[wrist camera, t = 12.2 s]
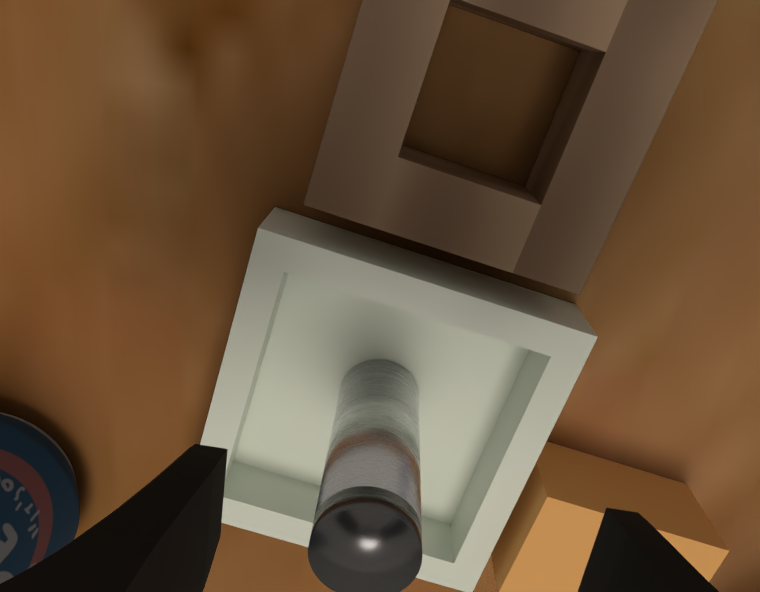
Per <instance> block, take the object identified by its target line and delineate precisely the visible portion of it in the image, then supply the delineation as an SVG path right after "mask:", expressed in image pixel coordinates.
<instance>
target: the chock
mask: <svg viewBox="0 0 760 592" xmlns="http://www.w3.org/2000/svg"><path fill="white" fill-rule="evenodd" d="M606 508H612V509H619V510H625V511H632V512H638V513H639V514H640V515H642V516H643V517H644V518H645V519H646V520H647V521H648V522H649V523H650V524H651V525H652V526H653V527H654V528H655V529H656V530H657V531H658V532H659V533H660V534H661V535H662V536H663V537H664V538H666V539H667V540H668V541H669V542H670V544H671V545H672V546H673V547H674V548H675V549H676V550H677V551H678V552H679V553H680V554H681V555H682V556H683V557H684V558H685V559H686V560H687V561H688V562H689V563H690V564H691V565H692V566H693V567H694V568H695V569H696V570H697V571H698V572H699V573H700V574H701V575H702V576H703V577H704V578H705V579H706V580H707V581H708V582H709V581H710V580H711V578H712V577H713V575H714V574H715V572H716V571H717V569H718V567H719V566H720V564H721V563H722V561H723V560H724V558H725V557H726V555H727V554H728V552H729V550H728V548H727V547H726V545H725V544H724V542H723V540H722V539H721V537H720V536H719V534H718V533H717V531H716V530H715V528H714V526H713V525H712V523H711V522H710V520H709V519H708V517H707V516H706V514H705V512H704V511H703V509H702V508H701V506H700V505H699V503H698V502H697V500H696V498H695V497H694V495H693V494H692V492H691V491H690V489H689V488H688V486H687V484H685V483H682V482H678V481H675V480H672V479H668V478H665V477H662V476H659V475H655V474H652V473H649V472H645V471H642V470H639V469H636V468H632V467H629V466H626V465H623V464H619V463H616V462H613V461H609V460H606V459H603V458H600V457H596V456H593V455H590V454H587V453H583V452H580V451H577V450H573V449H570V448H567V447H564V446H560V445H557V444H554V443H550V442H547V441H546V443H545V445H544V447H543V449H542V451H541V453H540V455H539V458H538V460H537V462H536V464H535V466H534V468H533V470H532V472H531V474H530V476H529V478H528V480H527V482H526V484H525V486H524V488H523V490H522V492H521V494H520V496H519V498H518V500H517V502H516V504H515V506H514V508H513V510H512V512H511V514H510V516H509V519H508V521H507V523H506V525H505V527H504V529H503V531H502V533H501V535H500V537H499V539H498V541H497V543H496V545H495V547H494V549H493V551H492V553H491V556H492V562H493V568H494V574H495V580H496V586H497V592H578V589H579V586H580V583H581V580H582V577H583V574H584V571H585V568H586V566H587V563H588V560H589V557H590V554H591V551H592V548H593V545H594V542H595V539H596V536H597V533H598V530H599V527H600V525H601V522H602V519H603V516H604V513H605V510H606Z"/></svg>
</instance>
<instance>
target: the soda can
mask: <svg viewBox="0 0 760 592" xmlns="http://www.w3.org/2000/svg"><path fill="white" fill-rule="evenodd" d="M78 523H79V497H78V490H77V483H76V477H75V473H74V470H73V468H72V465H71V463H70V461H69V459H68V457H67V456H66V454H65V453H64V451H63V450H62V449H61V447H60V446H59V445H58V444H57V443H56V442H55V441H54V440H53V439H52V438H51V437H50V436H49V435H48V434H46V433H45V432H44V431H43V430H41V429H40V428H38V427H37V426H35V425H33V424H32V423H30V422H28V421H26V420H23V419H21V418H18V417H16V416H13V415H9V414H5V413H1V412H0V584H1V583H3V582H5V581H7V580H8V579H10V578H12V577H14V576H16V575H18V574H20V573H22V572H23V571H25V570H27V569H29V568H30V567H32V566H34V565H35V564H37V563H38V562H40V561H42V560H43V559H45V558H47V557H48V556H50V555H52V554H53V553H55V552H56V551H58V550H59V549H61V548H62V547H64V546H65V545H67V544H68V543H70V542H71V541H73V540H74V538H75V535H76V532H77V528H78Z"/></svg>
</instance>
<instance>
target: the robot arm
mask: <svg viewBox="0 0 760 592" xmlns="http://www.w3.org/2000/svg"><path fill="white" fill-rule="evenodd" d="M227 450H228V449H225V448H218V447H212V446H205V445H199V444H195V445H193V446H192V447H190V448H189V449H188V450H186V451H185V452H184V453H183V454H182V455H181V456H180V457H179V458H177V459H176V460H175V461H174V462H173V463H172V464H171V465H170V466H168V467H167V468H166V469H165V470H164V471H163V472H161V473H160V474H159V475H158V476H157V477H156V478H154V479H153V480H152V481H151V482H150V483H149V484H147V485H146V486H145V487H144V488H142V489H141V490H140V491H139V492H137V493H136V494H135V495H134V496H132V497H131V498H130V499H129V500H127V501H126V502H125V503H124V504H122V505H121V506H120V507H119V508H117V509H116V510H115V511H113V512H112V513H111V514H109V515H108V516H107V517H105V518H104V519H102V520H101V521H100V522H98V523H97V524H96V525H94V526H93V527H91V528H90V529H89V530H87V531H86V532H84V533H83V534H82V535H80V536H79V537H77V538H76V539H74V540H73V541H71V542H70V543H68V544H67V545H65V546H64V547H62V548H61V549H59V550H58V551H56V552H55V553H53V554H52V555H50V556H48V557H47V558H45V559H43V560H42V561H40V562H38V563H37V564H35V565H34V566H32V567H30V568H29V569H27V570H25V571H23V572H22V573H20V574H18V575H16V576H14V577H12V578H10V579H8V580H7V581H5V582H3V583H1V584H0V592H202V591H203V589H204V587H205V584H206V580H207V577H208V574H209V571H210V568H211V565H212V562H213V558H214V555H215V552H216V548H217V545H218V542H219V539H220V533H221V521H222V509H223V498H224V486H225V474H226V462H227ZM578 592H719V591H718V590H717V589H715V588H714V587H713V586H712V585H711V584H710V583H709V582H708V581H707V580H706V579H705V578H704V577H703V576H702V575H701V574H700V573H699V572H698V571H697V570H696V569H695V568H694V567H693V566H692V565H691V564H690V563H689V562H688V561H687V560H686V559H685V558H684V557H683V556H682V555H681V554H680V553H679V552H678V551H677V550H676V549H675V548H674V547H673V546H672V545H671V544H670V542H669V541H668V540H667V539H666V538H664V537H663V536H662V535H661V534H660V533H659V532H658V531H657V530H656V529H655V528H654V527H653V526H652V525H651V524H650V523H649V522H648V521H647V520H646V519H645V518H644V517H643V516H642V515H640V514H639V513H638V512H632V511H625V510H619V509H612V508H606V510H605V513H604V516H603V519H602V522H601V525H600V527H599V530H598V533H597V536H596V539H595V542H594V545H593V548H592V551H591V554H590V557H589V560H588V563H587V566H586V568H585V571H584V574H583V577H582V580H581V583H580V586H579V589H578Z"/></svg>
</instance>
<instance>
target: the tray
mask: <svg viewBox="0 0 760 592" xmlns="http://www.w3.org/2000/svg"><path fill="white" fill-rule="evenodd" d="M597 338H598V336H597V335H596V333H595V332H594V330H593V329H592V327H591V326H590V324H589V323H588V321H587V320H586V318H585V317H584V315H583V314H582V312H581V311H580V309H579V308H578V306H577V305H576V304H573V303H570V302H567V301H564V300H561V299H557V298H554V297H551V296H548V295H545V294H542V293H539V292H536V291H533V290H530V289H527V288H524V287H520V286H517V285H514V284H511V283H508V282H505V281H502V280H499V279H496V278H493V277H490V276H487V275H484V274H480V273H477V272H474V271H471V270H468V269H465V268H462V267H459V266H456V265H453V264H450V263H447V262H444V261H440V260H437V259H434V258H431V257H428V256H425V255H422V254H419V253H416V252H413V251H410V250H407V249H403V248H400V247H397V246H394V245H391V244H388V243H385V242H382V241H379V240H376V239H373V238H370V237H367V236H363V235H360V234H357V233H354V232H351V231H348V230H345V229H342V228H339V227H336V226H333V225H330V224H326V223H323V222H320V221H317V220H314V219H311V218H308V217H305V216H302V215H299V214H296V213H293V212H290V211H286V210H283V209H280V208H277V207H274V209H273V210H272V211H271V212H270V213H269V215H268V216H267V217H266V218H265V220H264V221H263V222H262V223H261V225H260V226H259V227H258V230H257V233H256V237H255V241H254V245H253V248H252V252H251V256H250V260H249V263H248V267H247V271H246V275H245V278H244V282H243V286H242V290H241V293H240V297H239V301H238V305H237V308H236V312H235V316H234V320H233V323H232V327H231V331H230V334H229V338H228V342H227V346H226V349H225V353H224V357H223V361H222V364H221V368H220V372H219V376H218V379H217V383H216V387H215V391H214V394H213V398H212V402H211V406H210V409H209V413H208V417H207V421H206V424H205V428H204V432H203V436H202V439H201V443H200V445H205V446H212V447H218V448H225V449H228V450H227V462H226V474H225V486H224V498H223V509H222V521H221V523H225V524H228V525H232V526H235V527H239V528H242V529H246V530H249V531H253V532H256V533H260V534H264V535H267V536H271V537H274V538H278V539H281V540H285V541H288V542H292V543H295V544H299V545H302V546H306V547H308V546H309V541H310V536H311V531H312V526H313V521H314V516H315V511H316V506H317V501H318V496H319V491H320V486H321V482H322V477H323V472H324V467H325V462H326V457H327V452H328V447H329V442H330V437H331V432H332V427H333V422H334V417H335V412H336V407H337V402H338V397H339V392H340V387H341V384H342V381H343V379H344V377H345V375H346V374H347V373H348V372H349V370H350V369H352V368H353V367H354V366H356V365H357V364H359V363H361V362H364V361H367V360H372V359H385V360H390V361H393V362H396V363H398V364H400V365H401V366H403V367H404V368H406V369H407V370H408V371H409V372H410V373H411V374H412V376H413V377H414V379H415V381H416V383H417V386H418V391H419V428H420V474H421V520H422V564H421V568H420V570H419V572H418V574H417V576H416V577H415V578H419V579H422V580H426V581H429V582H433V583H436V584H440V585H443V586H447V587H450V588H454V589H457V590H461V591H464V592H473V590H474V588H475V586H476V584H477V582H478V580H479V578H480V575H481V573H482V571H483V569H484V567H485V565H486V563H487V561H488V559H489V557H490V555H491V553H492V551H493V549H494V547H495V545H496V543H497V541H498V539H499V537H500V535H501V533H502V531H503V529H504V527H505V525H506V523H507V521H508V519H509V516H510V514H511V512H512V510H513V508H514V506H515V504H516V502H517V500H518V498H519V496H520V494H521V492H522V490H523V488H524V486H525V484H526V482H527V480H528V478H529V476H530V474H531V472H532V470H533V468H534V466H535V464H536V462H537V460H538V458H539V455H540V453H541V451H542V449H543V447H544V445H545V443H546V441H547V439H548V437H549V435H550V433H551V431H552V429H553V427H554V425H555V423H556V421H557V419H558V417H559V415H560V413H561V411H562V409H563V407H564V405H565V403H566V401H567V399H568V396H569V394H570V392H571V390H572V388H573V386H574V384H575V382H576V380H577V378H578V376H579V374H580V372H581V370H582V368H583V366H584V364H585V362H586V360H587V358H588V356H589V354H590V352H591V350H592V348H593V346H594V344H595V342H596V340H597Z"/></svg>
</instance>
